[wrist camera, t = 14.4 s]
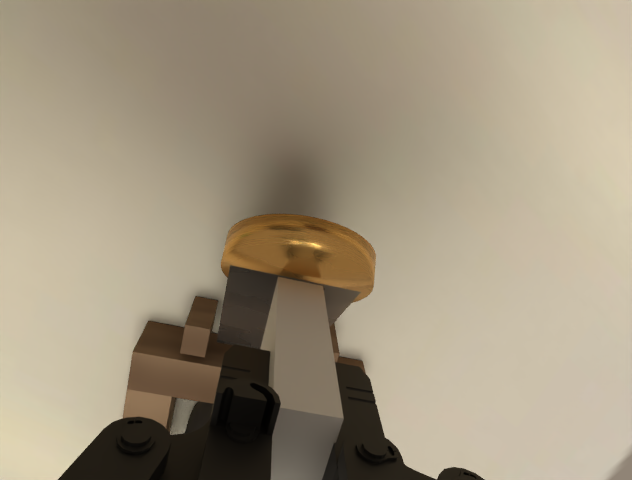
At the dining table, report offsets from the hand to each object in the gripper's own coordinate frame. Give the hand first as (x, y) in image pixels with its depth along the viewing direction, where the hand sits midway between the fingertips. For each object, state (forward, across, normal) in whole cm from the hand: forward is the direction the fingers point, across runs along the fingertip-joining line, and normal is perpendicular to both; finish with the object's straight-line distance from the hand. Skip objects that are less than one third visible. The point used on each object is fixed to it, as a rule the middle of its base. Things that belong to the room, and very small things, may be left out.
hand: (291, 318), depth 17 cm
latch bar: (+4, 0, -1) cm, 4 cm away
